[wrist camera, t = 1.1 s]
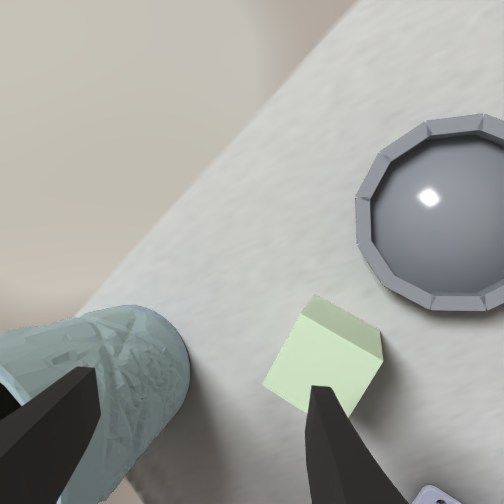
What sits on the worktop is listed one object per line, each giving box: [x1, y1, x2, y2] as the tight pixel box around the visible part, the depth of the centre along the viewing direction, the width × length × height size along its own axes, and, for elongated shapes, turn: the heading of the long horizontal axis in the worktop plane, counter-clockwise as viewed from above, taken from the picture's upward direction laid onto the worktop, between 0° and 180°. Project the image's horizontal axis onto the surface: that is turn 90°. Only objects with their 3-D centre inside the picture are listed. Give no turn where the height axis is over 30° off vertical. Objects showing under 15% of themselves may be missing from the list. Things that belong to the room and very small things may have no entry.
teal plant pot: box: [0, 305, 190, 504], centre depth 20 cm, size 10×10×12 cm
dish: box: [355, 114, 504, 311], centre depth 18 cm, size 9×9×2 cm
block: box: [262, 294, 383, 418], centre depth 19 cm, size 4×4×5 cm
